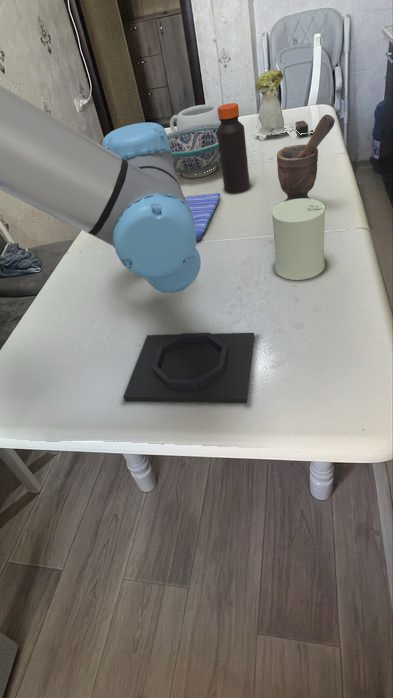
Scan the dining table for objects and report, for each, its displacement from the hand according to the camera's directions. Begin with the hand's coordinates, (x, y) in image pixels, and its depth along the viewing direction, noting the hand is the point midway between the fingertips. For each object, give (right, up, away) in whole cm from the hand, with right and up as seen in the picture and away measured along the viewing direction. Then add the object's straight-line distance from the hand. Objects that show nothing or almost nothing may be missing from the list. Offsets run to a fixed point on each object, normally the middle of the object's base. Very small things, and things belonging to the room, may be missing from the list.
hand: (108, 185), depth 83 cm
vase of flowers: (+43, +41, +64) cm, 87 cm away
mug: (+17, +43, +73) cm, 86 cm away
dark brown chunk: (+51, +37, +58) cm, 86 cm away
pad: (+16, -34, -16) cm, 41 cm away
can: (+36, -16, +1) cm, 40 cm away
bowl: (+18, +23, +50) cm, 57 cm away
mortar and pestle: (+42, +1, +18) cm, 46 cm away
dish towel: (+12, 0, +25) cm, 28 cm away
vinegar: (+28, +12, +34) cm, 46 cm away
